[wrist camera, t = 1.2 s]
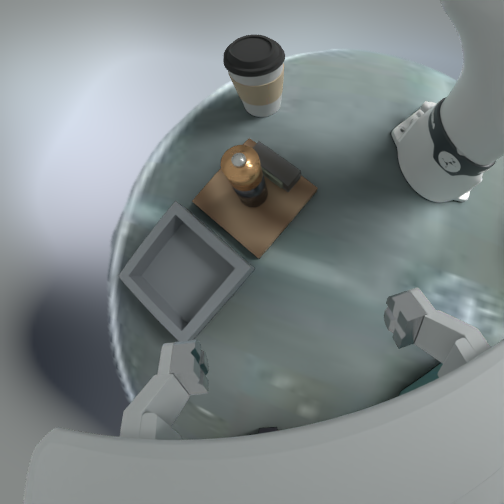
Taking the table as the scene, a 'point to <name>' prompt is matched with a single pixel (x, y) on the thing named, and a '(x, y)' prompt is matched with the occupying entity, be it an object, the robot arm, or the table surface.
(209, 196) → the plate
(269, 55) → the coffee cup
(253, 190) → the battery cell
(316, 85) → the table surface
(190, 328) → the bin
